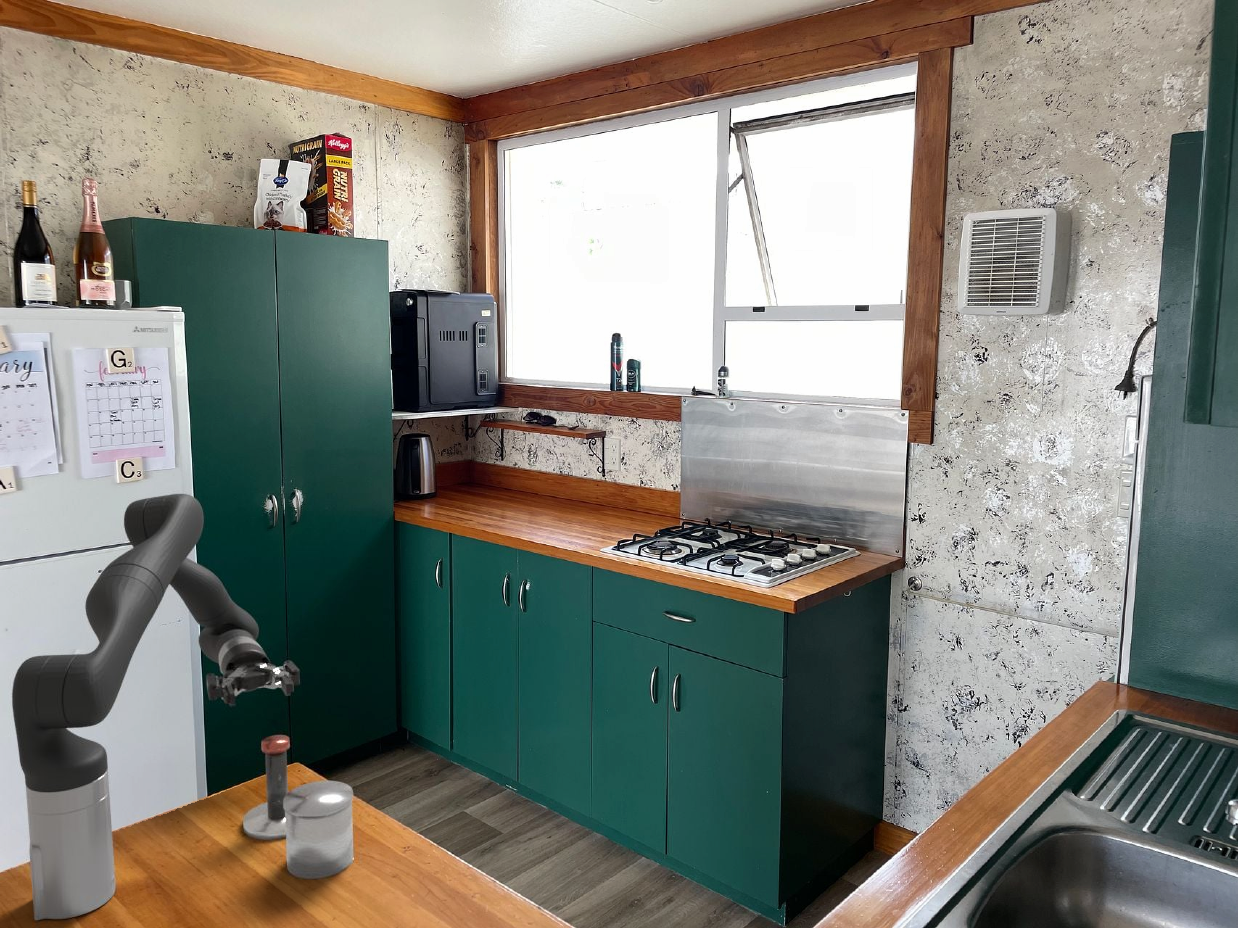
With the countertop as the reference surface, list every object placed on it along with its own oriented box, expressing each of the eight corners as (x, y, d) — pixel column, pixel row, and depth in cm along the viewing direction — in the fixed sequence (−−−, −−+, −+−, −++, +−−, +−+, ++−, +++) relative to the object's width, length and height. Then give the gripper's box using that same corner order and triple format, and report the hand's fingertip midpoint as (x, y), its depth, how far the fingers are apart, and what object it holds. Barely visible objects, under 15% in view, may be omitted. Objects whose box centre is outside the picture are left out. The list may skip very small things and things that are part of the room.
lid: (249, 846, 136) (246, 760, 134) (238, 815, 144) (234, 734, 143) (319, 828, 141) (317, 745, 139) (304, 800, 150) (302, 721, 148)
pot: (293, 886, 126) (291, 819, 125) (279, 853, 134) (276, 790, 133) (362, 867, 131) (361, 802, 130) (345, 836, 139) (343, 775, 138)
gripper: (198, 649, 160) (212, 680, 146) (284, 635, 167) (305, 664, 153) (200, 690, 161) (214, 726, 147) (286, 675, 168) (307, 708, 154)
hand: (261, 694), depth 150 cm, fingers open, 8 cm apart
